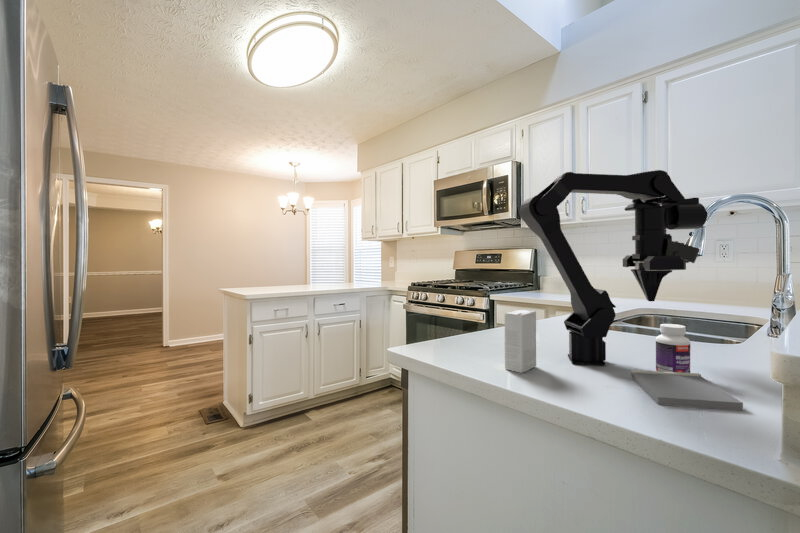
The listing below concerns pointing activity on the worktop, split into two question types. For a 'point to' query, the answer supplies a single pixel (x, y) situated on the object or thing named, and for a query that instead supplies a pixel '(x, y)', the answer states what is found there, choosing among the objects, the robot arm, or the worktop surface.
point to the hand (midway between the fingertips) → (650, 301)
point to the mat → (684, 390)
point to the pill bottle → (672, 349)
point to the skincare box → (520, 340)
